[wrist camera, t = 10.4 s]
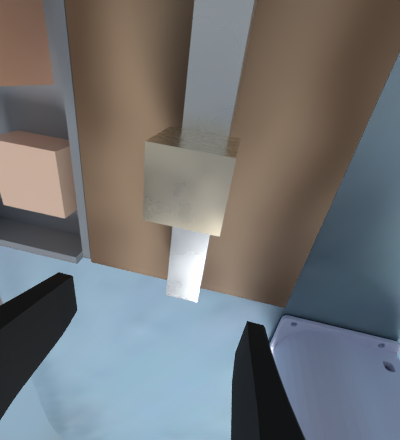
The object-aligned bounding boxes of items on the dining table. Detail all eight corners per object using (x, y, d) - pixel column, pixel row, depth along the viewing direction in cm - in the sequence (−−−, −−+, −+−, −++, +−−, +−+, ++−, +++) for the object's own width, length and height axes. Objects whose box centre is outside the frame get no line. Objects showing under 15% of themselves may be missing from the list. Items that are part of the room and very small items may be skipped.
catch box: (81, -123, 11) (5, -211, 8) (104, 242, 21) (76, 274, 18) (-106, -141, 12) (-248, -228, 9) (1, 219, 22) (-45, 245, 19)
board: (433, -89, 10) (482, -135, 8) (281, 283, 20) (285, 307, 18) (86, -123, 11) (47, -170, 9) (107, 243, 21) (91, 262, 19)
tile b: (80, 142, 17) (55, 151, 15) (86, 202, 19) (65, 218, 17) (17, 130, 17) (-16, 137, 15) (31, 190, 20) (3, 205, 17)
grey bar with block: (285, -73, 9) (319, -232, 4) (210, 276, 18) (195, 348, 13) (204, -82, 9) (155, -241, 5) (169, 267, 18) (139, 334, 13)
